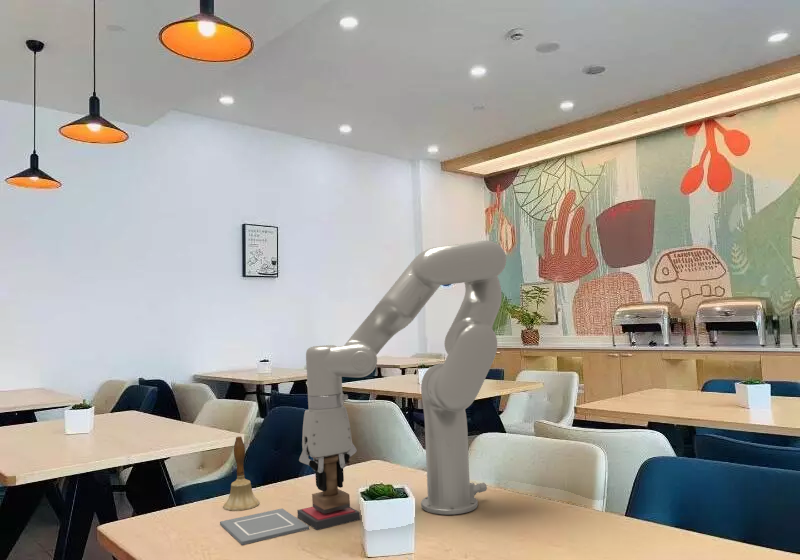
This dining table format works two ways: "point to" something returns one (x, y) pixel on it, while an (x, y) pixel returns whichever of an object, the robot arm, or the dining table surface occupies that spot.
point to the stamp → (331, 490)
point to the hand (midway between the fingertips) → (330, 487)
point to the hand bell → (240, 484)
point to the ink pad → (327, 517)
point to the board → (263, 526)
